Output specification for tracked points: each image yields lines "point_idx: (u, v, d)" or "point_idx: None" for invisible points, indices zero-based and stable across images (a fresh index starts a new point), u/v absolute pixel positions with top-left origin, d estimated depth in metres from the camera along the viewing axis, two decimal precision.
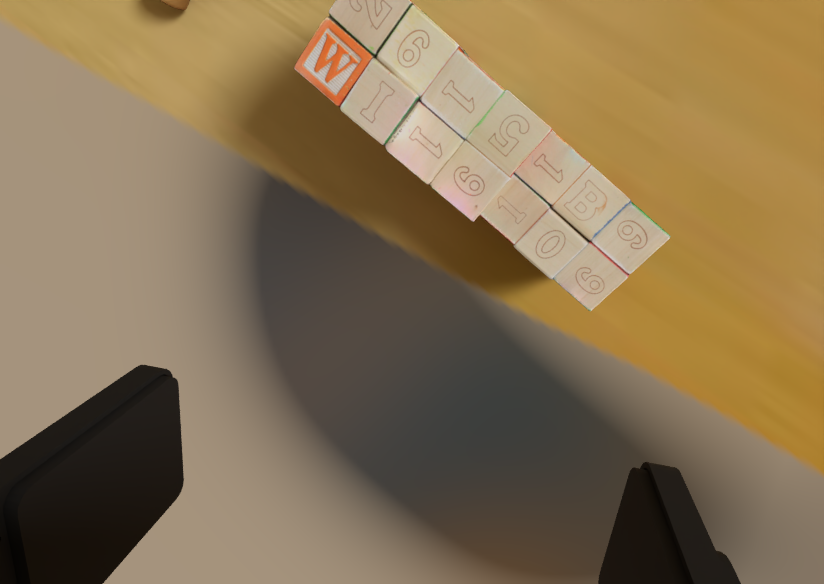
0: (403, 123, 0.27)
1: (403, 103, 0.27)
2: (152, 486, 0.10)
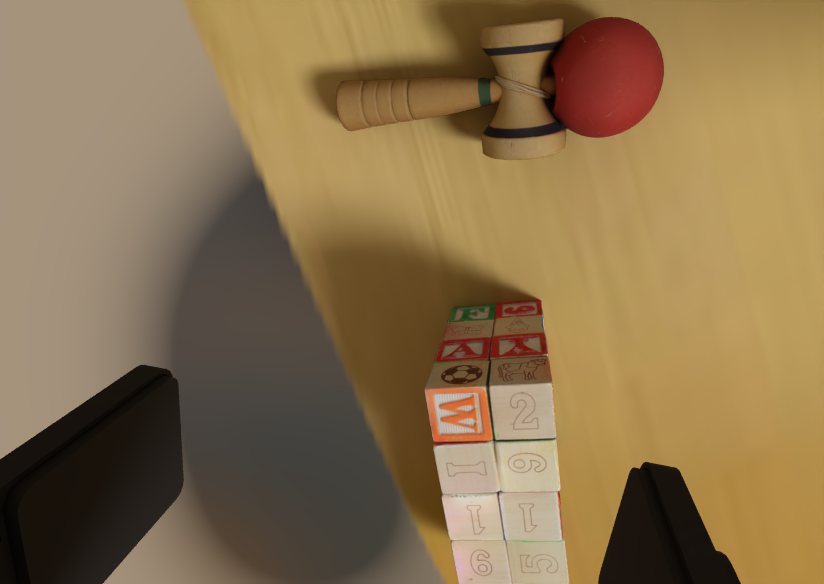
0: (471, 494, 0.28)
1: (484, 486, 0.27)
2: (152, 486, 0.10)
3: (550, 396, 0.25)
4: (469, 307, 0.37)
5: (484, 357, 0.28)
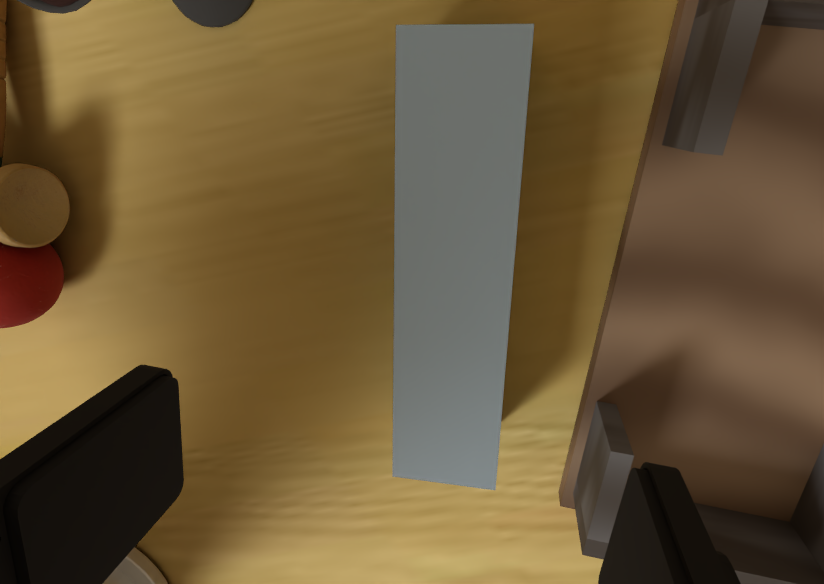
0: None
1: None
2: (152, 486, 0.10)
3: None
4: None
5: None
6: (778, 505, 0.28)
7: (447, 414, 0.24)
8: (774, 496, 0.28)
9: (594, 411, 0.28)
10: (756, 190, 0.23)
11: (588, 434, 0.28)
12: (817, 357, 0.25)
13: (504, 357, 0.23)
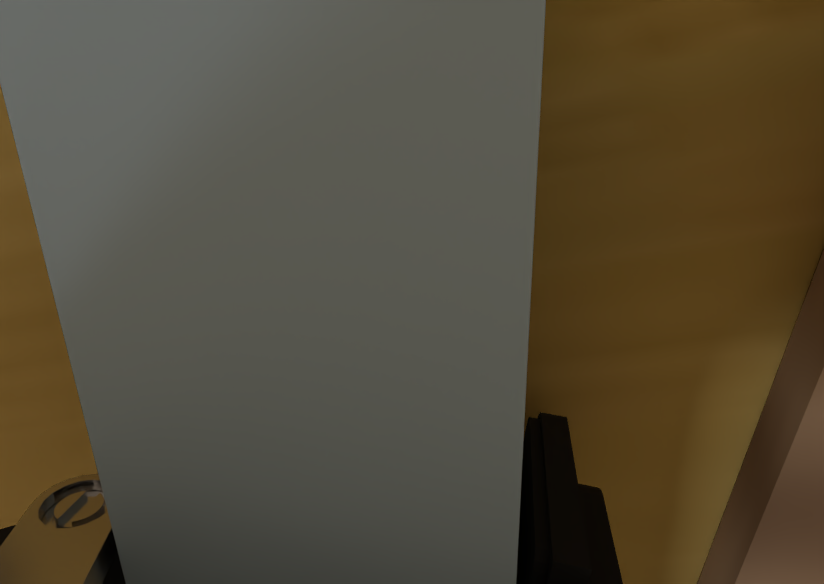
0: None
1: None
2: None
3: None
4: None
5: None
6: None
7: None
8: None
9: None
10: None
11: None
12: None
13: None
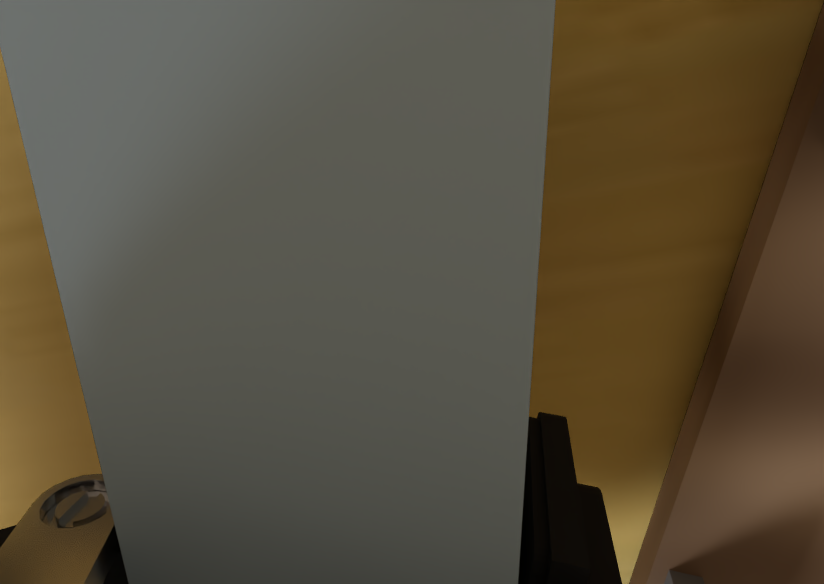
0: None
1: None
2: None
3: None
4: None
5: None
6: None
7: None
8: None
9: None
10: None
11: None
12: None
13: None
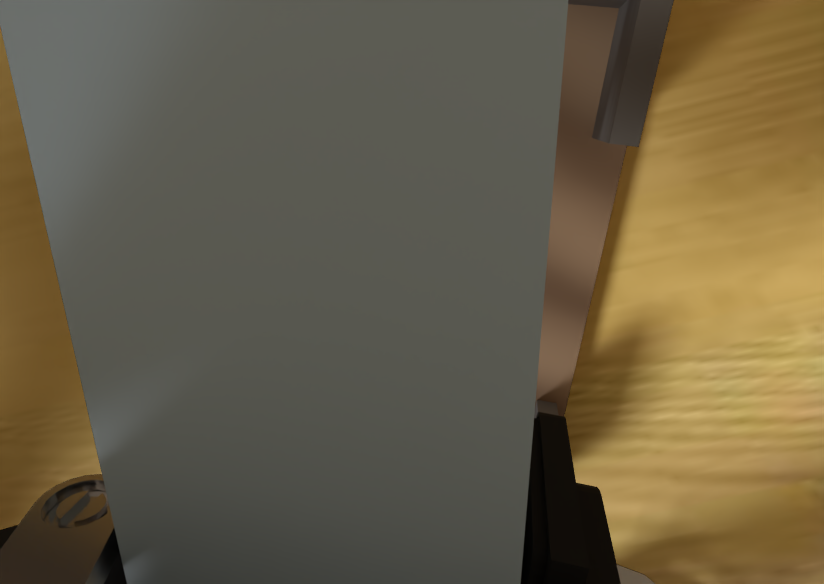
0: None
1: None
2: None
3: None
4: None
5: None
6: None
7: None
8: None
9: None
10: None
11: None
12: None
13: None
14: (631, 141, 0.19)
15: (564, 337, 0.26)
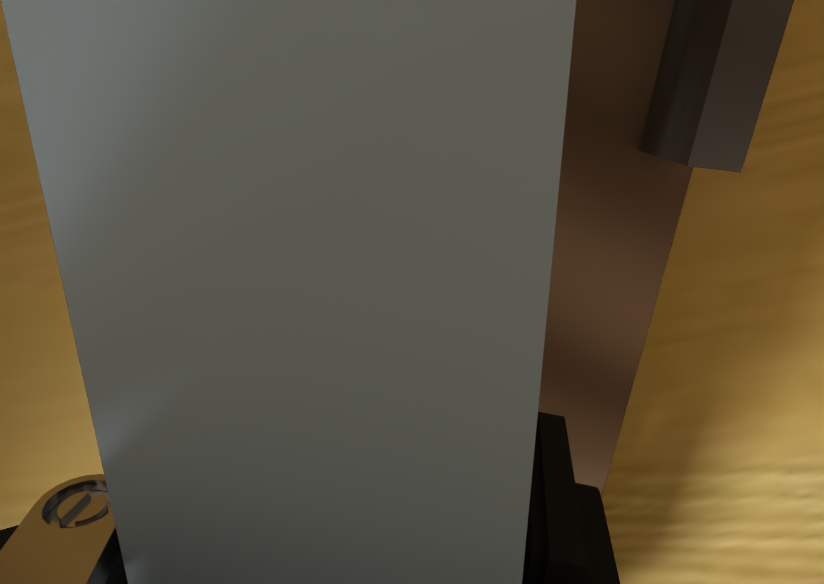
0: None
1: None
2: None
3: None
4: None
5: None
6: None
7: None
8: None
9: None
10: None
11: None
12: None
13: None
14: (728, 162, 0.10)
15: (590, 440, 0.18)
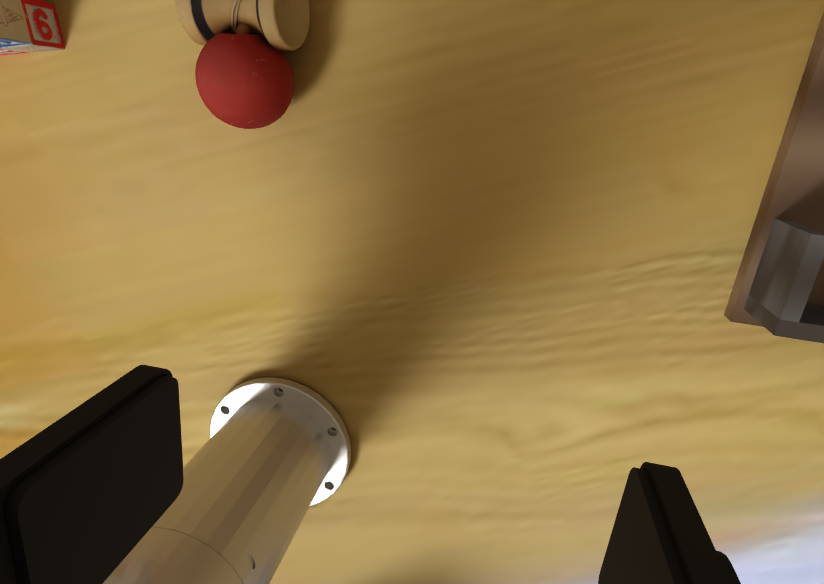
0: None
1: None
2: (152, 486, 0.10)
3: None
4: None
5: None
6: None
7: None
8: None
9: (772, 227, 0.33)
10: None
11: (764, 250, 0.33)
12: None
13: None
14: None
15: None
